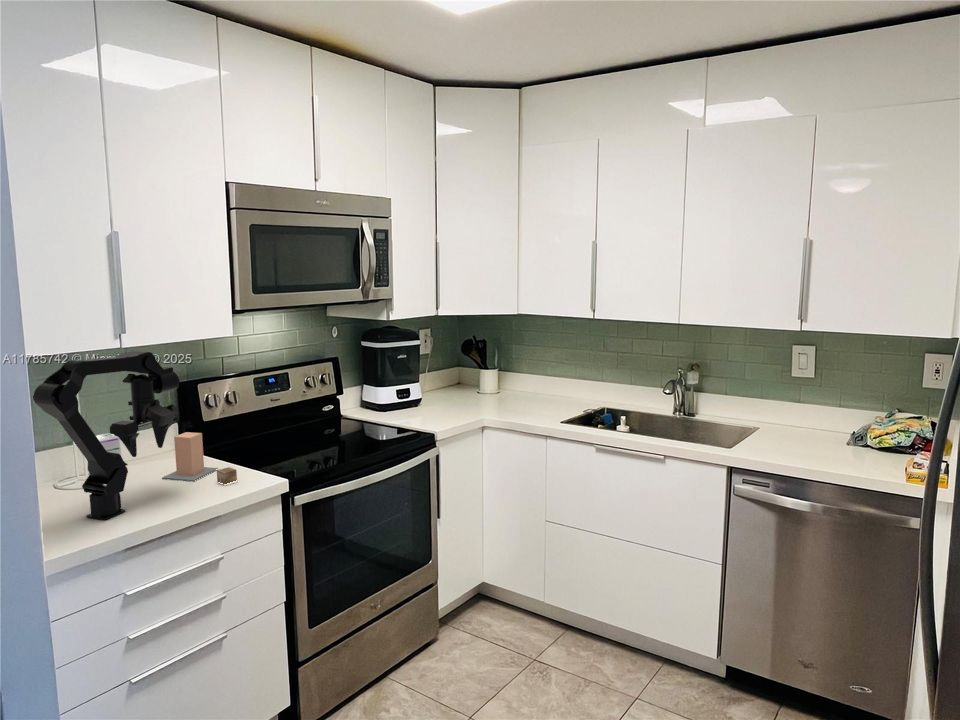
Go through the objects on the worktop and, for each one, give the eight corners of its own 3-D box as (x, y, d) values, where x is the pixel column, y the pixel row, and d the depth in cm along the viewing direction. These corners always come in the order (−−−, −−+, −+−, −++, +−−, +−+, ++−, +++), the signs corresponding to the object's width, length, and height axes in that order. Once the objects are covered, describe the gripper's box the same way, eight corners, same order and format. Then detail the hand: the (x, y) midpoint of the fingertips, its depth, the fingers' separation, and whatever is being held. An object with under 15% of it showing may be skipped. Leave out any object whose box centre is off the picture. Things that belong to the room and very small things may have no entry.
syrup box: (124, 482, 199) (120, 435, 197) (103, 487, 195) (98, 439, 192) (117, 478, 203) (113, 431, 201) (96, 483, 198) (91, 435, 196)
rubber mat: (193, 481, 200) (193, 480, 200) (162, 479, 202) (161, 477, 202) (218, 469, 211) (218, 468, 211) (187, 467, 214) (187, 465, 214)
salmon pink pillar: (192, 476, 203) (190, 437, 201) (176, 474, 204) (174, 436, 203) (204, 470, 209) (201, 433, 207) (188, 469, 210) (186, 432, 208)
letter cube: (224, 486, 196) (223, 473, 195) (217, 483, 198) (216, 470, 198) (237, 482, 199) (236, 469, 199) (229, 479, 202) (229, 467, 201)
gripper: (139, 405, 171) (144, 464, 173) (191, 392, 189) (195, 445, 191) (105, 403, 175) (110, 460, 177) (160, 389, 192) (164, 442, 194)
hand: (147, 452), depth 185 cm, fingers open, 9 cm apart
